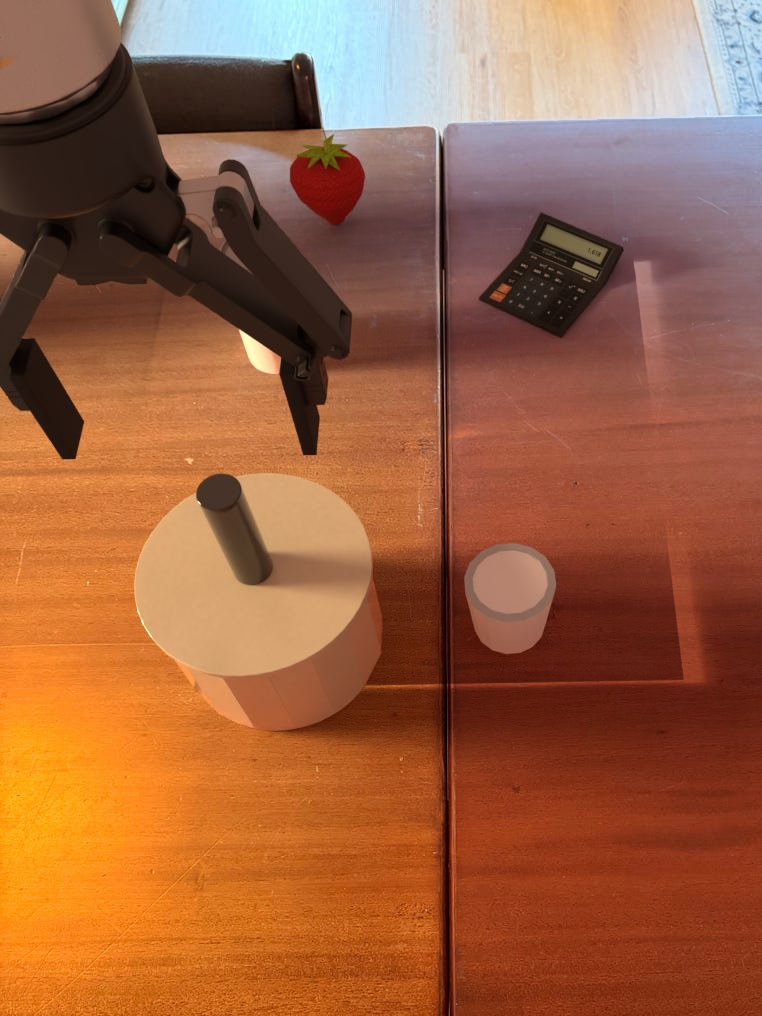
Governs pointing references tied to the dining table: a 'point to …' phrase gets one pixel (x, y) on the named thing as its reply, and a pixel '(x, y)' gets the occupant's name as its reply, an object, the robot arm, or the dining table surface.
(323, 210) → the strawberry
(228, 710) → the pot
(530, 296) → the calculator
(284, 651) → the pot lid
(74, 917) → the dining table surface
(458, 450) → the dining table surface
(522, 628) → the shot glass
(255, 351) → the can
